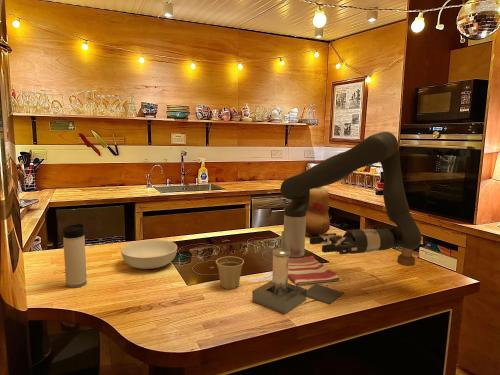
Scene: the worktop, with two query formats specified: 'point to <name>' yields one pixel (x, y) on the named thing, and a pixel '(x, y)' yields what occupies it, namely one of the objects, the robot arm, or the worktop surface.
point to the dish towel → (310, 272)
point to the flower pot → (229, 271)
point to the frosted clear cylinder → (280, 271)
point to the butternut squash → (318, 212)
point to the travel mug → (74, 255)
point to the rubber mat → (323, 293)
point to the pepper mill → (406, 257)
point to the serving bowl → (149, 253)
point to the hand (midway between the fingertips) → (315, 244)
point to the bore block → (279, 297)
